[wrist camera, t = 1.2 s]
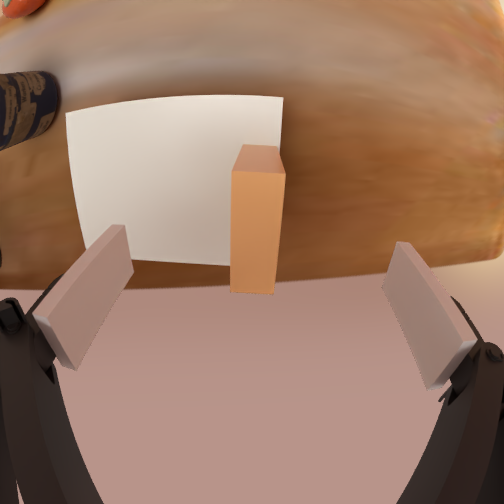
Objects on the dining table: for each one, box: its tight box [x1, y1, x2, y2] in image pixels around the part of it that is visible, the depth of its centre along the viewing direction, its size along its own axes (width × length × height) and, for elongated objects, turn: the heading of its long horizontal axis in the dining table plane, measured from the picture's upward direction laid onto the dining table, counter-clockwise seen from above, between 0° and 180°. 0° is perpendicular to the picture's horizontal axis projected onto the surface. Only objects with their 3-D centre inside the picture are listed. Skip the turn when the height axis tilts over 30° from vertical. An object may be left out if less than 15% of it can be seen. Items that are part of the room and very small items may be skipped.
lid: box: [66, 95, 286, 294], centre depth 19 cm, size 19×15×11 cm
